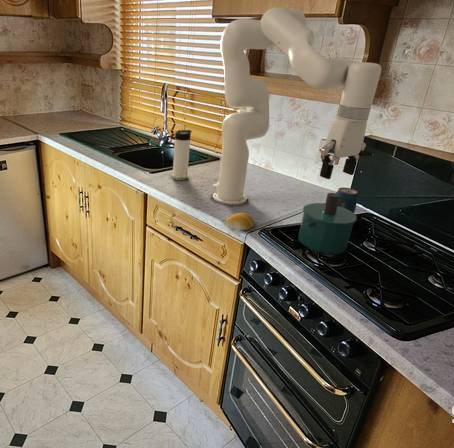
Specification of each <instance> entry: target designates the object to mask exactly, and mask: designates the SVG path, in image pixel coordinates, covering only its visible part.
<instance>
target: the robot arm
mask: <svg viewBox="0 0 454 448" xmlns="http://www.w3.org/2000/svg"><path fill="white" fill-rule="evenodd" d="M314 41H315V33H314V31H313V30H312V29H311V28H310V27H308V26H307V18H306V16H305V14H304V13H303V12H302V11H301V10H299V9H297V8H290V7H289V8H288V7H281V6H276V7H271V8H270V9H268V10H266V11H265V12H264V14H262V16H261V19H253V18H239V19H235V20H232V21H231V22H230V23H228V24H227V25H226V27H225V28H224V30H223V31H222V34H221V37H220V53H221V58H222V63H223V64H222V65H223V83H224V99H225V103H226V105H227V106H228V107H229V108H231V109H246V111H240V112H232V113H230V114H228V115H227V116H226V117H225V118H224V119H223V121H222V124H221V136H222V138H221V139H222V146H221V147H222V148H221V157H220V158H221V159H220V166H219V176H218V181H216V183H214V184H213V185H212V187H213V188H214V189H216V190H215V192H213V194H212V199H213V200H214V201H215V202H217V203H221V204H225V205H226V204H227V205H242V204H245V203H246V202H247V201H248V197H247V196H246V195H245V194H244V193H245V185H246V179H247V171H248V170H247V169H248V164H249V159H250V158H249V157H250V152H249V146H248V144H247V141H249V140H256V139H260V138H263V137H264V136H265V135H266V134H267V133H268V131H269V129H270V128H269V127H270V94H269V89H268V85H267V84H266V83H265V81H264V80H262V79H259V78H251V69H250V68H251V66H250V61H249V58H248V56H247V54H246V53H245V49H246V50H269V49H271V48H275V47H277V48H278V49H280V50H281V51H282V52H283V53H284V54H285V55H286V56H288V57H289V63H290V66H291V68H292V70H293V72H294V73H295V74H296V75H297V76H298V77H299V78H300V79H301V80H302V81H303V82H304V83H306V84H307V85H309V86H310V87H312V88H314V89H316V90H337V89H338V90H339V89H342V94H341V96H340V97H341V98H340V101H339V105H338V110H337V113H336V117H334V119H333V121H332V123H331V126H330V128H329V130H328V134H327V137H326V140H325V144H324V145H323V146H322V147H321V148H320V159H321V163H322V164H321V168H320V172H319V177H320V178H324V179H326V180H331V179H332V175H333V170H334V166H335V165H334V163H335V161H337V159H340V158H345V162H344V165H343V169H342V172H343V173H344V174H347V175H350V176H353V175H354V174H355V171H356V167H357V165H358V162H359V160H360V158H361V156H362V154H363V152H364V150H365V149H366V147H367V143H365V142H364V140H365V136H366V132H367V131H366V130H367V124H368V119H369V116H370V113H371V110H372V109H371V108H372V105H373V102H374V98H375V94H376V92H377V88H378V85H379V81H380V78H381V74H382V65H381V64H379V63H375V62H366V61H356V60H353V59H348V58H337V57H327V58H326V57H325V56H323V55H322V54H321V53H320V52H318V51H317V50H316V49H314V48H313V47H312V46H313V44H314V43H315V42H314ZM330 157H331V158H330ZM346 157H347V158H346Z"/></svg>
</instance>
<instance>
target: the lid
mask: <svg viewBox="0 0 454 448" xmlns="http://www.w3.org/2000/svg"><path fill="white" fill-rule="evenodd" d="M326 194H327V195H326V199H325V202H324V203H322V202H313V203H308V204H306V205H304V206H303V207H302V213H304V214H305V215H306V216H308V217H309V218H311V219H313V220H316V221H319V222H322V223H326V224H332V225H350V224H353V223H354V224H355V223H356V222H357V218H358V217H357V214H355V212H354V213H353V212H351V211H349V210H347V209H345V208H342V207H339V206H338V203H339V199H340V195H339V194H336V192H328V193H326ZM354 224H353V225H354Z"/></svg>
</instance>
